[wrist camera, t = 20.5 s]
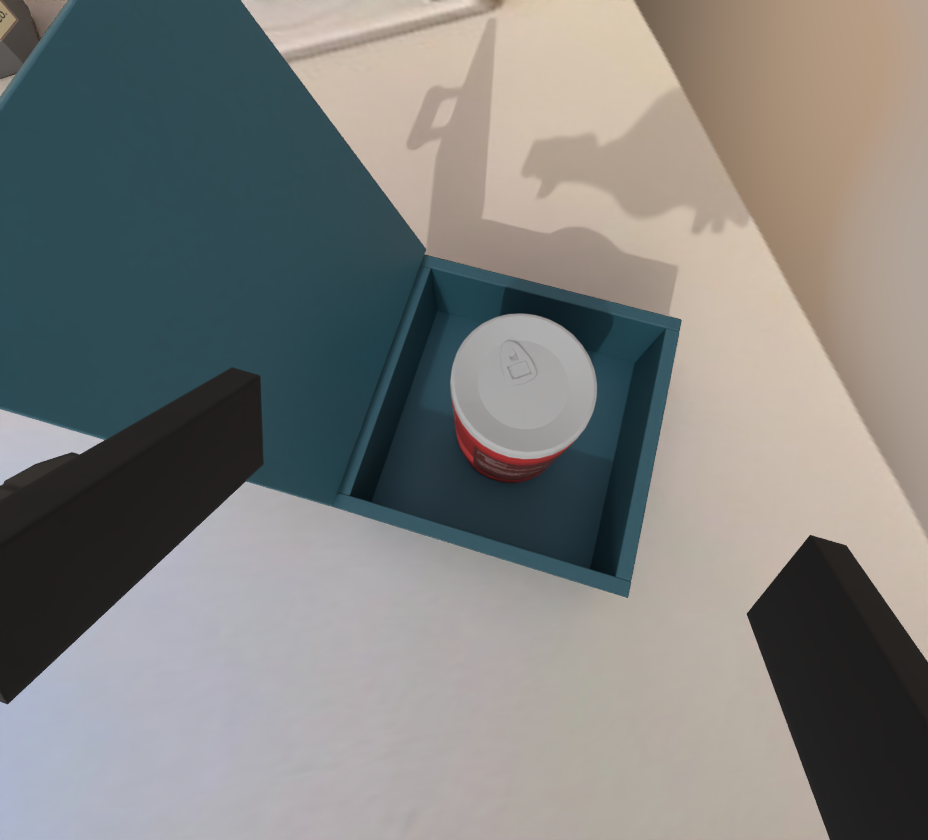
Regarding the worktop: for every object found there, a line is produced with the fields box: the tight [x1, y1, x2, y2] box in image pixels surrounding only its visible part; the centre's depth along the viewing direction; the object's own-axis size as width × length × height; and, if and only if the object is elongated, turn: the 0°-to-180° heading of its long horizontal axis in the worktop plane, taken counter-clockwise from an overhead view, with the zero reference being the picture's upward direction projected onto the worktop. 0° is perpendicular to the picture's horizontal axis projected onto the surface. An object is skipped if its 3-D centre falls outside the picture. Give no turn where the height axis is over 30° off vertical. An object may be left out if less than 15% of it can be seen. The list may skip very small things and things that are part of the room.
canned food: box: [450, 313, 597, 483], centre depth 29 cm, size 8×8×11 cm
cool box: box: [332, 255, 681, 598], centre depth 32 cm, size 18×18×7 cm
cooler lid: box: [0, 0, 426, 506], centre depth 22 cm, size 19×18×5 cm
